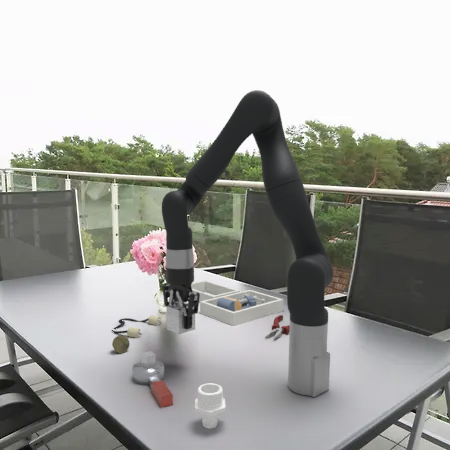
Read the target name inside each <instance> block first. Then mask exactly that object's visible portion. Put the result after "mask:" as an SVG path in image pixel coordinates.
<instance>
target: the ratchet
mask: <svg viewBox="0 0 450 450" xmlns="http://www.w3.org/2000/svg"><path fill="white" fill-rule="evenodd" d="M140 356H141V358H140V360H141V361H138V362H136V363H135V364H134V365H133V366H132V381H133V382H134V383H135V384H137V385H141V386H149V387H150V389H151V391H150V392H151V393H152V395H153V397H154V398H155V401H156V402H157V404H158V405H159V406H160V408H165V407H170V406H173V405H174V395H173V393H172V391H171V390H170V389H169V387H168V386H167V384H166V383H165V382H164V379H165V364H164V363H163V362H162V361H158V360H156V357H157V356H156V353H154V352H153V351H151V350H149V351H145V352H142V353H140Z"/></svg>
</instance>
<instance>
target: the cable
mask: <svg viewBox="0 0 450 450" xmlns="http://www.w3.org/2000/svg"><path fill="white" fill-rule="evenodd" d="M122 320H123V321H122ZM129 320H130V321H129ZM125 321H129V322H135V323H137V322H138V323H145V322H148V324H149V325H152V326H159V325H160V324H163V321H162V319H161V317H160V316H156V315H150V316H149V317H148V318H146V319H143V320H137V319H134V318H127V317H126V318H125V317H124V318H120V319H119V320H118V322H119V323H120V324H118V325H116V326H115V327H114V328H113V329H115V330H114V331H113V330H112V329H111V332H112V331H113V332H114V333H113V332H112V333H113V334H126V335H127V337H128V336H129V338H133V337H135V339H137V338H141V336H142V335H143V333H142V331H141V328H138V327H134V326H133V327H132V326H130V327H129V328H127V330H119V331H117V329H119V328H120V327H123V325H124V326H125V324H126V323H125ZM116 328H117V329H116Z"/></svg>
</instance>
